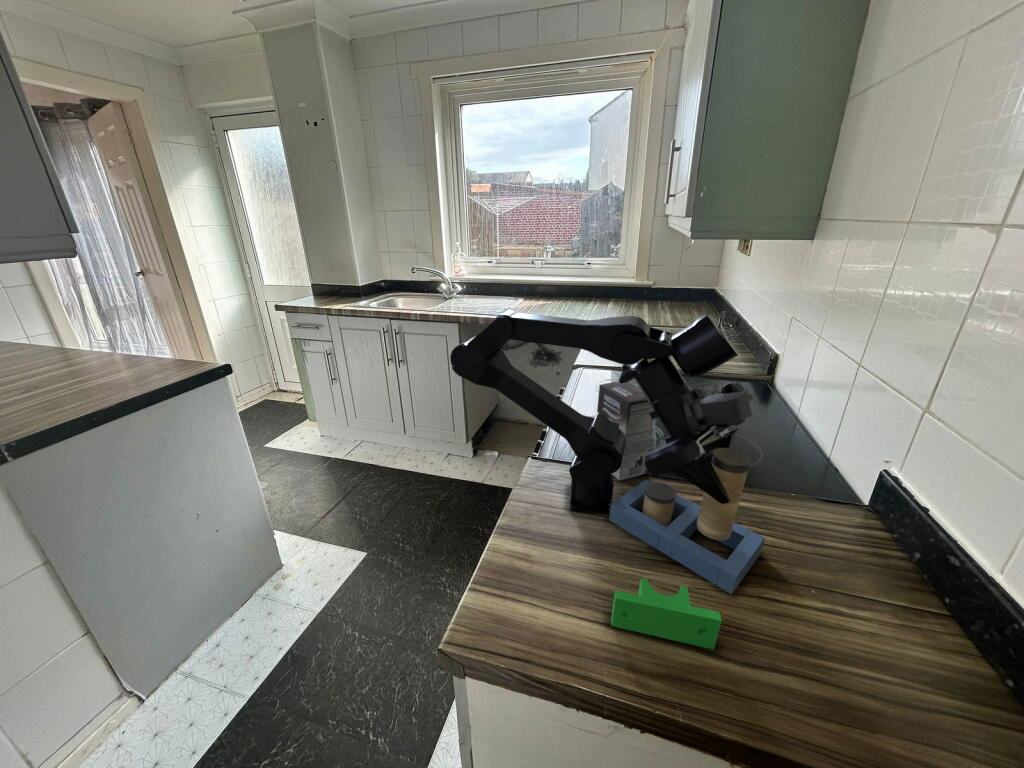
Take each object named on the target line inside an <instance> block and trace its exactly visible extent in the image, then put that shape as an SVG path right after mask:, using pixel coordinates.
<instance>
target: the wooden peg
mask: <svg viewBox="0 0 1024 768" xmlns="http://www.w3.org/2000/svg"><path fill="white" fill-rule="evenodd" d="M751 463H752V459H751V458H750V457H749V455H747V454H746V453H744V452H743V451H741V450H738V449H735V448H733V449H731V448H716V449H714V452H713V457H712V466H713V468H714V470H715V471H716V473H717V475H718V477H719V479H720V481H721V483H722V485H723V487H724V489H725V490H726V493H727V495H728V497H729V500H730V502H729V503H726V504H721V503H720V502H718V501H717V500H715V499H714V498H712V497H711V496H710V495H708V494H707V493H705V492H704V491H703V493H702V498H701V501H700V505H699V506H700V511H699V515H698V519H697V524H696V525H697V528H698V530H697V531H698V532H699V533H701V534H702V535H703V536H705V537H707V538H709V539H711V540H714V541H717V540H727V539H728V538H729V537H730V536H731V532H732V528H733V524H734V523H735V521H736V517H737V513H738V509H739V505H740V502H741V498H742V495H743V491H744V488H745V487H744V486H745V483H746V481H747V476H748V472H749V470H750V467H751Z"/></svg>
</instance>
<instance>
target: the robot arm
mask: <svg viewBox="0 0 1024 768" xmlns="http://www.w3.org/2000/svg"><path fill="white" fill-rule="evenodd" d="M511 340H513V341H519V342H526V343H527V342H528V343H534V344H543V345H548V346H549V345H550V346H556V347H557V346H558V347H565V348H571V349H579V350H584V351H587V352H589V353H591V354H593V355H595V356H597V357H599V358H601V359H604V360H606V361H609V362H610V361H611V362H613V363H617V364H620V365H621V373H620V375H619V378H618V382H619V383H626V382H629V383H630V382H631V381H633V380H634V381H635V383H636V384H637V387H638V388H640V389H641V391H642V392H643V394H644V395H645V397H646V399H647V400H648V402H649V403H650V404H651V403H652V404H651V407H652V408H653V410H654V411H653V412H651V413H649V415H650V417H651V418H652V420H653V419H654V420H656V419H657V418H658V419H659V421H660V423H661V425H662V426H663V427H664V429H665V431H666V432H667V434H668V435H669V436H667V437H665V438H664V441H665V444H663V445H661V446H659V447H657V448H656V449H654V450H653V451H651V452H649V453H648V455H647V456H645V463H644V465H645V467H646V469H645V470H647V472H648V473H649V476H650V477H651V478H652V479H654V478H656V477H659V476H661V475H665V474H667V473H669V474H676V475H677V476H679V477H680V478H682V479H683V480H686V481H687V482H688V483H690V484H692V485H693V486H695V487H696V488H698V489H699V490H701V491H702V492H703V493H704V492H705V493H707V494H708V495H710V496H711V497H712V498H714V499H715V500H717V501H718V502H720V503H721V504H726V503H729V502H730V500H729V497H728V495H727V493H726V490H725V489H724V487H723V485H722V483H721V481H720V479H719V477H718V475H717V473H716V471H715V470H714V468H713V466H712V457H713V452H714V449H716V448H731V449H734V443H735V440H736V437H737V435H738V434H739V428H736V429H733V430H731V431H729V430H728V428H729V427H731V426H739V425H741V424H743V423H745V422H746V420H747V418H750V417H752V416H753V412H752V407H751V404H750V403H751V402H752V401H753V400H754V395H752V394H750V393H749V390H748V389H745V388H744V387H743V385H742V384H741V383H740V382H739V381H735V382H733V381H732V382H727V383H726V384H724V385H723V386H722V387H721V389H720V390H721V391H720V392H716V393H714V394H710V395H705V394H704V392H703V391H702V390H701V389H700V388H698V387H695V388H693V389H691V387H690V386H689V385H688V383H687V381H686V380H685V378H684V377H683V375H682V373H680V371H679V369H680V370H681V371H682V372H683V373H684V375H686V376H690V377H691V378H693V377H695V376H696V377H697V378H700V377H702V376H704V375H706V374H707V373H709V372H712V371H713V370H715V369H717V368H718V367H721V366H722V365H724V364H725V363H727V362H729V361H731V360H733V359H734V358H736V357H738V356H739V353H738V351H737V349H736V348H735V346H734V345H733V343H732V342H731V340H730V339H729V337H728V336H727V335H726V334H725V332H724V331H723V329H722V328H719V326H718V325H717V324H716V323H715V321H713V319H712V318H711V317H710V316H709V314H708V313H704V314H703V315H701V316H699V317H698V318H697V319H696V320H694V322H692V323H691V324H690V325H688V326H686V327H685V328H683V329H682V330H680V331H678V332H676V333H675V334H673V332H670V331H666V330H663V329H659V328H657V327H652V326H649V324H648V323H647V321H646V320H644V319H643V318H642V317H639V316H636V315H625V316H609V317H605V318H598V319H581V318H573V317H571V318H570V317H561V316H552V315H543V314H535V313H527V312H519V311H516V310H507V311H505V312H502V313H501V314H499V315H497V316H495V318H494V319H493V321H492V322H491V323H490V324H489V325H487V327H485V328H484V329H483V330H481V331H480V332H479V333H478V334H477V335H475V336H473V337H471V338H469V339H467V340H465V341H463V342H461V343H459V344H458V345H456V346H455V347H454V348H453V349H452V350H451V354H450V364H451V370H452V371H453V373H455V374H456V375H457V376H458V377H459V378H462V379H463V380H465V381H467V382H470V383H471V384H473V385H477V386H481V387H486V388H490V389H494V390H495V391H497V392H499V393H500V394H502V395H503V396H504V397H506V398H507V399H509V400H510V401H511V402H513V403H514V404H516V405H517V406H519V407H520V408H521V409H522V410H524V411H525V412H527V413H528V414H530V415H531V416H532V417H534V418H535V419H537V420H538V421H540V422H541V423H542V424H543V425H545V426H547V427H548V428H549V429H551V430H552V431H553V432H555V433H556V434H558V435H559V436H560V437H562V438H563V439H564V440H565V441H566V442H567V444H568V445H569V447H570V448H571V450H572V452H573V453H574V457H573V460H572V461H571V464H570V466H569V469H568V472H569V476H570V485H569V496H568V497H569V499H568V509H569V510H570V511H574V512H584V513H593V514H602V515H609V514H610V505H612V504H613V503H612V502H613V495H614V487H615V484H614V483H615V482H614V475H612V473H615V472H616V471H617V470H619V468H620V466H621V464H622V459H623V455H624V451H625V446H626V439H625V435H624V433H623V432H622V431H621V430H620V429H619V424H618V423H614V422H612V421H610V420H609V419H608V418H607V417H606V416H605V415H604V414H602V413H601V412H598V413H597V412H596V415H595V417H593V416H588V415H584V414H581V413H580V412H578V411H577V410H576V409H574V408H573V407H572V406H571V405H569V404H567V403H566V402H564V401H563V400H562V399H561V398H559V397H557V396H556V395H555V394H553V393H551V392H550V391H549V390H547V389H546V388H544V387H543V386H542V385H540V384H539V383H537V381H534V380H533V379H531V378H530V376H527V375H526V374H525V373H523V372H521V370H519V369H517V368H516V367H515V366H514V365H512V363H511V362H510V360H509V359H508V357H507V355H506V354H505V353H506V352H504V350H503V349H502V348H503V347H504V346H505V345H506V344H507V343H508V342H510V341H511ZM671 357H672V358H673V359H674V362H675V363H676V365H677V366H678V367H679V369H678V368H677V367H676V365H675V363H674V362H673V360H672V359H671ZM655 401H656V402H655ZM653 402H654V403H653ZM654 420H653V421H654Z"/></svg>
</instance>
